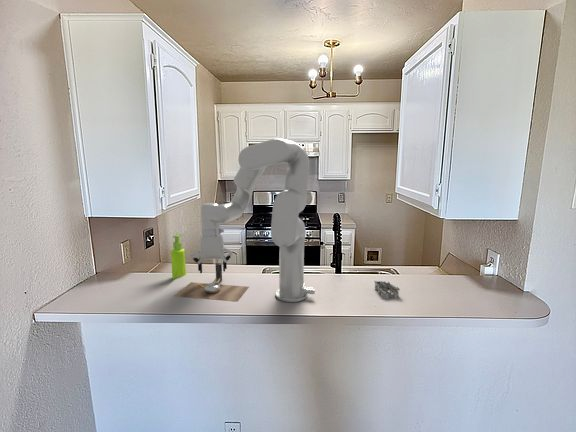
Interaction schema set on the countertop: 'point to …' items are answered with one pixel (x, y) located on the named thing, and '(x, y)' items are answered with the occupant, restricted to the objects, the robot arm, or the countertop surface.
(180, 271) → the soap dispenser
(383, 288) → the rough grey rock
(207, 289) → the ice cream scoop
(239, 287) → the brown flat rectangular board
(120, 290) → the countertop surface
